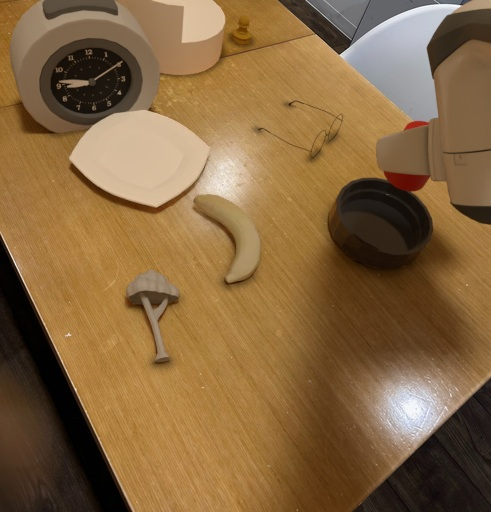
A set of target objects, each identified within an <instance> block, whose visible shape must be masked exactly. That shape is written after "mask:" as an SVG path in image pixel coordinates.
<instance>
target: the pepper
mask: <svg viewBox="0 0 491 512" xmlns="http://www.w3.org/2000/svg"><path fill="white" fill-rule="evenodd" d="M424 125H429V121H424V120H413V121H410V122H408V123H407V124H406V126H405V127H404V129H403V131H404V130H408V129H412V128H416V127H420V126H424ZM383 175H384V177H385V180H388V181H389V182H390V183H391V184H392V185H394V186H395V187H397V188H399V189H401V190H404V191H411V192H412V193H413V192H418V191H421V190H422V189H423V188H424V187H425V186H426V184H427V183H428V181H429V179H431V176H430V175H411V174H402V173H393V172H385V171H383Z"/></svg>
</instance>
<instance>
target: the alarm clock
mask: <svg viewBox="0 0 491 512" xmlns="http://www.w3.org/2000/svg"><path fill="white" fill-rule="evenodd" d="M8 47H9V48H8V49H9V60H10V66H11V69H12V73H13V77H14V81H15V85H16V89H17V92H18V96H19V97H20V100H21V102H22V105H23V106H24V109H25V110H26V111H27V113H28V114H29V115H30V116H31V117H32V118H33V120H34V121H35V122H37V123H38V124H39V125H41V126H42V127H44V128H45V129H47V130H48V131H50V132H51V133H56V134H62V133H70V132H77V131H78V132H79V131H84V130H89V129H90V128H91V127H92V126H93V125H95V124H96V123H98V122H99V121H101V120H102V119H104V118H106V117H108V116H110V115H112V114H114V113H122V112H126V111H127V112H131V111H140V110H147V111H149V109H150V108H151V107H152V105H153V103H154V101H155V99H156V97H157V95H158V93H159V88H160V81H161V73H160V71H159V62H158V60H157V58H156V56H155V53H154V51H153V49H152V47H151V45H150V43H149V41H148V39H147V37H146V35H145V33H144V31H143V29H142V27H141V25H140V23H139V22H138V20H137V19H136V18H135V17H134V16H133V14H132V13H131V12H130V11H129V10H128V9H127V8H126V7H124V6H123V5H122V4H120V3H119V1H117V0H38V1H37V2H35V3H34V4H33V5H32V6H31V7H29V9H27V10H26V11H25V12H24V13H23V14H22V15H21V17H20V19H19V21H18V22H17V23H16V25H15V27H14V28H13V30H12V34H11V39H10V43H9V46H8Z"/></svg>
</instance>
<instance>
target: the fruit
mask: <svg viewBox="0 0 491 512" xmlns="http://www.w3.org/2000/svg"><path fill="white" fill-rule="evenodd" d="M193 205H195V206H196V207H197V208H198V209H199V210H201V211H202V212H203V213H205V214H206V215H207V216H209V217H211V218H212V219H214V220H216V222H219V223H220V224H222V225H223V226H224V227H225V228H226V229H227V230H228V231H229V232H230V233H231V235H232V237H233V239H234V241H235V246H236V247H235V254H234V257H233V260H232V263H231V265H230V268H229V271H228V272H227V273H226V275H225V276H224V281H225V282H226V283H227V284H232V283H236V282H240V281H244V280H245V281H246V280H247V279H249V278H250V277H251V276H252V275H253V273H254V272H255V271H256V270H257V267H258V266H259V265H260V264H259V263H260V261H261V255H262V254H261V253H262V243H261V237H260V233H259V230H258V229H257V227H256V225H255V223H254V222H253V220H252V219H251V218H250V216H249V215H248V214H247V213H246V212H245V211H244V210H243V209H242V208H241V207H239V206H238V205H237V204H235V203H234V202H233V201H230V200H229V199H227V198H226V197H223V196H220V195H218V194H210V193H209V194H208V193H207V194H196V195H195V197H194V198H193Z"/></svg>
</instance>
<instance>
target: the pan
mask: <svg viewBox="0 0 491 512" xmlns="http://www.w3.org/2000/svg"><path fill="white" fill-rule="evenodd" d="M328 227H329V230H330V233H331V236H332V238H333V240H334V241H335V242H336V243H337V245H338V247H339V248H340V249H341V250H342V251H343V252H344V253H346V255H348V256H349V257H350V258H352V260H354V261H356V262H359V263H360V264H362V265H364V266H367V267H368V268H373V269H378V270H382V271H388V270H389V271H390V270H391V271H392V270H400V269H403V268H406V267H408V266H410V265H412V264H413V262H415V261H416V260H417V259H418V258H419V257H420V256H421V254H422V253H423V251H424V250H425V249H426V247H427V246H428V245H429V244H430V242H431V240H432V237H433V234H434V231H435V230H434V222H433V217H432V216H431V213H430V211H429V209H428V207H427V205H425V203H424V202H423V201H422V200H421V199H420V197H419V196H418V195H416V194H415V193H414V192H413V191H412V192H411V191H404V190H401V189H399V188H397V187H395V186H394V185H392V184H391V183H390V182H389V181H388V180H387V179H386V178H385V179H384V178H380V177H361V178H358V179H354V180H351V181H349V182H348V183H347V184H345V185H344V186H343V187H341V189H340V190H339V192H338V194H337V196H336V198H335V200H334V202H333V205H332V207H331V209H330V212H329V216H328Z"/></svg>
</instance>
